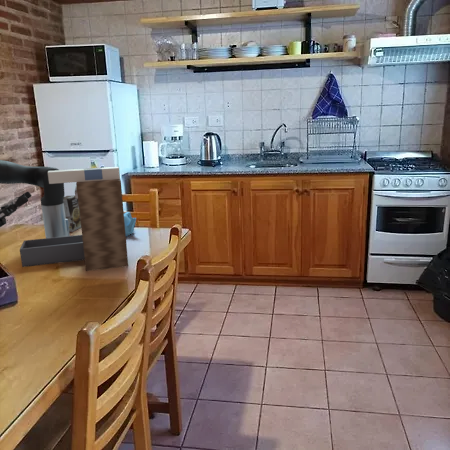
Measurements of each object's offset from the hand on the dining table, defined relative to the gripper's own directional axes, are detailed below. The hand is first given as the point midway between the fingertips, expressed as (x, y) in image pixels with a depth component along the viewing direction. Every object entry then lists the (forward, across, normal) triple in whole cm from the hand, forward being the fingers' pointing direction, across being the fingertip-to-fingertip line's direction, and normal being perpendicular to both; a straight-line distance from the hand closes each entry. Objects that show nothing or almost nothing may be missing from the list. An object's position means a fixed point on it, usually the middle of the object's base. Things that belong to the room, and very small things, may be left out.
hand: (28, 195), depth 152 cm
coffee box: (-6, +57, +29) cm, 65 cm away
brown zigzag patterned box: (+7, 0, +36) cm, 37 cm away
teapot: (+13, +39, +40) cm, 57 cm away
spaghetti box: (+19, 0, +6) cm, 20 cm away
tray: (-6, +13, +29) cm, 32 cm away
